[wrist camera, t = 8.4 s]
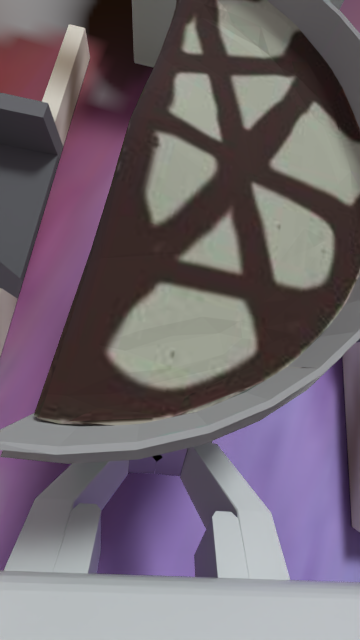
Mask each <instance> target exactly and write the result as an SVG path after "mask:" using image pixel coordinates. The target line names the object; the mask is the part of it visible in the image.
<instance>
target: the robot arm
mask: <svg viewBox="0 0 360 640" xmlns="http://www.w3.org/2000/svg"><path fill="white" fill-rule="evenodd" d="M154 472H155V474H162V475H172V476H180V478H181V480H182V482H183V484H184V486H185V488H186V490H187V492H188V494H189V496H190V498H191V500H192V502H193V504H194V506H195V508H196V510H197V512H198V514H199V516H200V518H201V520H202V522H203V524H204V526H205V528H206V531H205V533H204V535H203V537H202V540H201V542H200V544H199V546H198V548H197V550H196V553H195V555H194V561H195V577H184V576H153V575H123V574H97V570H98V564H99V559H100V553H101V511H102V510H103V508H104V507H105V505H106V504H107V503H108V501H109V500H110V498H111V497H112V496H113V494H114V493H115V491H116V490H117V489H118V487H119V486H120V485H121V483H122V482H123V480H124V479H125V478H126V476H127V475H128V473H150V474H154ZM0 640H360V582H335V581H305V580H290V578H289V574H288V571H287V567H286V564H285V560H284V557H283V553H282V550H281V546H280V543H279V539H278V536H277V532H276V528H275V525H274V521H273V518H272V514H271V512H270V511H269V510H268V508H267V507H266V506H265V505H264V503H263V502H262V501H261V500H260V498H259V497H258V496H257V494H256V493H255V492H254V491H253V489H252V488H251V487H250V486H249V484H248V483H247V482H246V481H245V479H244V478H243V477H242V475H241V474H240V473H239V472H238V470H237V469H236V468H235V467H234V465H233V464H232V463H231V461H230V460H229V459H228V458H227V456H226V455H225V454H224V453H223V451H222V450H221V449H220V447H219V446H218V445H217V444H213V443H212V441H210V442H208V443H206V444H203V445H199V446H194V447H190V448H186V449H181V450H177V451H173V452H168V453H164V454H160V455H156V456H151V457H147V458H143V459H137V460H121V461H105V462H88V463H72V464H71V465H70V466H69V467H68V468H67V469H66V470H65V471H64V472H63V473H62V474H61V475H60V476H59V477H57V478H56V479H55V480H54V481H53V482H52V483H51V484H50V485H49V486H48V487H47V488H46V489H45V490H44V491H43V492H42V493H41V494H39V495H38V496H37V497H36V498H35V500H34V503H33V505H32V507H31V509H30V512H29V514H28V516H27V518H26V521H25V523H24V525H23V528H22V530H21V532H20V534H19V537H18V539H17V541H16V544H15V546H14V548H13V550H12V553H11V555H10V557H9V559H8V562H7V564H6V566H5V569H4V571H1V570H0Z"/></svg>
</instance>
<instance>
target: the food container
mask: <svg viewBox="0 0 360 640" xmlns="http://www.w3.org/2000/svg"><path fill="white" fill-rule="evenodd" d="M359 339H360V33H359V32H358V31H357V30H356V29H355V28H354V26H353V25H352V24H351V23H350V22H349V20H348V19H347V18H346V17H345V16H344V15H343V14H342V13H341V12H340V11H339V10H338V9H337V8H336V7H335V6H334V5H333V4H332V3H331V2H330V1H329V0H176V8H175V11H174V15H173V18H172V21H171V24H170V27H169V30H168V32H167V35H166V38H165V40H164V43H163V46H162V49H161V51H160V54H159V56H158V59H157V61H156V63H155V66H154V68H153V70H152V73H151V75H150V77H149V79H148V81H147V83H146V85H145V87H144V89H143V91H142V93H141V96H140V98H139V100H138V103H137V105H136V107H135V109H134V111H133V114H132V116H131V119H130V121H129V125H128V128H127V131H126V135H125V138H124V142H123V145H122V148H121V152H120V155H119V159H118V162H117V166H116V170H115V173H114V177H113V180H112V184H111V187H110V190H109V194H108V197H107V200H106V203H105V206H104V210H103V213H102V216H101V219H100V222H99V226H98V229H97V232H96V235H95V239H94V242H93V245H92V248H91V251H90V254H89V257H88V260H87V263H86V266H85V269H84V272H83V274H82V277H81V280H80V283H79V286H78V289H77V292H76V295H75V298H74V300H73V303H72V306H71V309H70V312H69V315H68V318H67V321H66V324H65V326H64V329H63V332H62V335H61V338H60V341H59V344H58V347H57V350H56V352H55V355H54V358H53V361H52V364H51V367H50V370H49V373H48V376H47V379H46V381H45V384H44V387H43V390H42V393H41V396H40V399H39V402H38V405H37V408H36V410H35V413H34V414H31V415H29V416H27V417H25V418H23V419H21V420H19V421H17V422H15V423H13V424H11V425H9V426H7V427H5V428H3V429H1V430H0V450H3V451H2V454H1V457H7V458H17V459H27V460H36V461H46V462H56V463H66V464H72V463H88V462H105V461H121V460H137V459H143V458H147V457H151V456H156V455H160V454H164V453H168V452H173V451H177V450H181V449H186V448H190V447H194V446H199V445H203V444H206V443H208V442H210V441H213V440H215V439H217V438H220V437H222V436H224V435H227V434H229V433H232V432H234V431H236V430H239V429H241V428H243V427H246V426H248V425H251V424H253V423H255V422H258V421H260V420H261V419H263V418H265V417H266V416H268V415H269V414H271V413H272V412H274V411H275V410H277V409H278V408H280V407H281V406H283V405H285V404H286V403H288V402H289V401H291V400H292V399H294V398H295V397H297V396H298V395H300V394H301V393H303V392H305V391H306V390H307V389H308V388H309V387H310V386H311V385H313V384H314V383H315V382H316V381H317V380H318V379H319V378H320V377H321V376H322V375H323V374H324V373H325V372H326V371H327V370H328V369H329V368H330V367H331V366H333V365H334V364H335V363H336V362H337V361H338V360H339V359H340V358H341V357H342V356H343V355H344V353H345V352H346V351H347V350H348V349H349V348H350V347H351V346H352V345H354V344H355V343H356V342H357V341H358V340H359Z"/></svg>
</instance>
